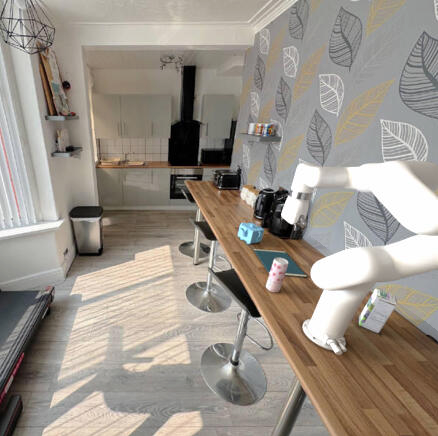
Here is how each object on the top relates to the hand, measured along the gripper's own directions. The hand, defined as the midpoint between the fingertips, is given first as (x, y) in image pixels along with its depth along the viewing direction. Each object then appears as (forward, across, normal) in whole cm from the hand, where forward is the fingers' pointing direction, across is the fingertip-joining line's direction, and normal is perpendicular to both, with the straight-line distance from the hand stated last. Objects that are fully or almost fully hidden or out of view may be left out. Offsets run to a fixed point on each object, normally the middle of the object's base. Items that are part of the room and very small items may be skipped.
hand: (288, 233), depth 100 cm
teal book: (+26, -19, +11) cm, 34 cm away
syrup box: (+27, +21, +27) cm, 43 cm away
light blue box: (+26, -42, +2) cm, 50 cm away
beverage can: (+26, +4, -2) cm, 27 cm away
